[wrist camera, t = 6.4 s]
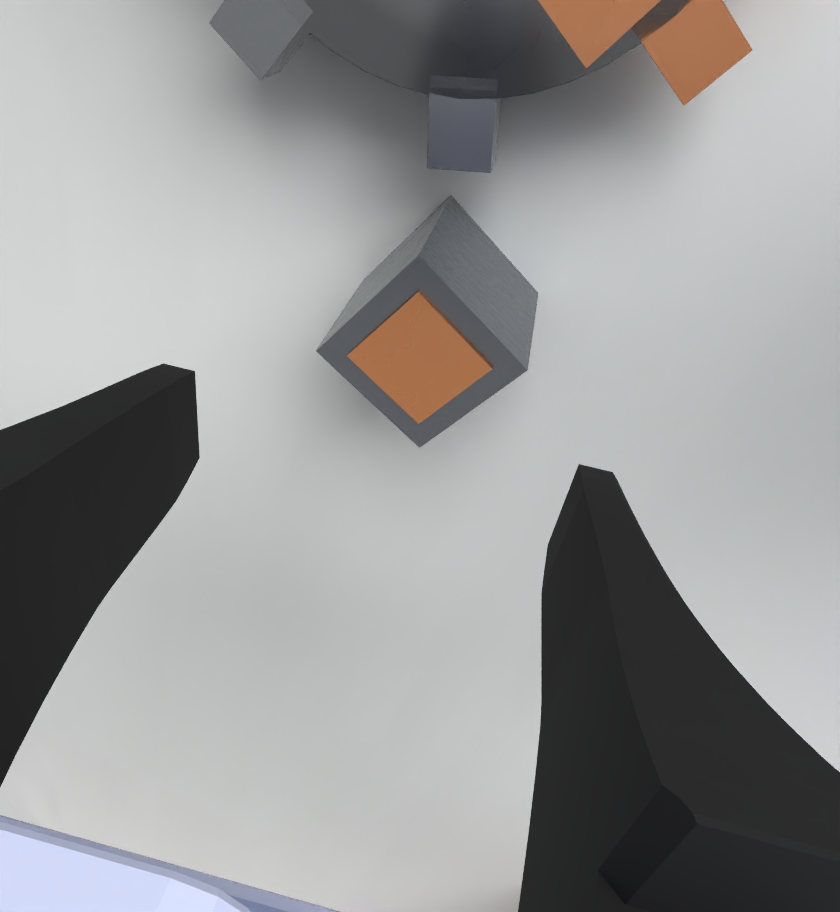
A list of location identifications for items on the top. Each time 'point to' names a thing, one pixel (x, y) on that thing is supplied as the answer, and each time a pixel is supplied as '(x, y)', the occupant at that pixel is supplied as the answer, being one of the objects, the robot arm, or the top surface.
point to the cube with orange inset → (435, 326)
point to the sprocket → (486, 51)
